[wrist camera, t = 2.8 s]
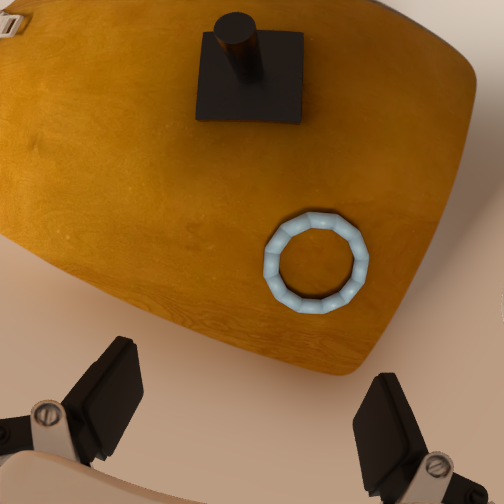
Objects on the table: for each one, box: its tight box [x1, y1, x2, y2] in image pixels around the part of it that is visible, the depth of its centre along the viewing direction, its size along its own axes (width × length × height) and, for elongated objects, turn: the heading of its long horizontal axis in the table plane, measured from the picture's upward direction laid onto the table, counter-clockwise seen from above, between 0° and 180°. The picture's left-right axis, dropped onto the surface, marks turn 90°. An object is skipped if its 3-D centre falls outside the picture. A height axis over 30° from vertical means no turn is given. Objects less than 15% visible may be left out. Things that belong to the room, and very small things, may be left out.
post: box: [195, 12, 303, 125], centre depth 17 cm, size 9×9×10 cm
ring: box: [263, 212, 369, 314], centre depth 26 cm, size 10×10×1 cm
